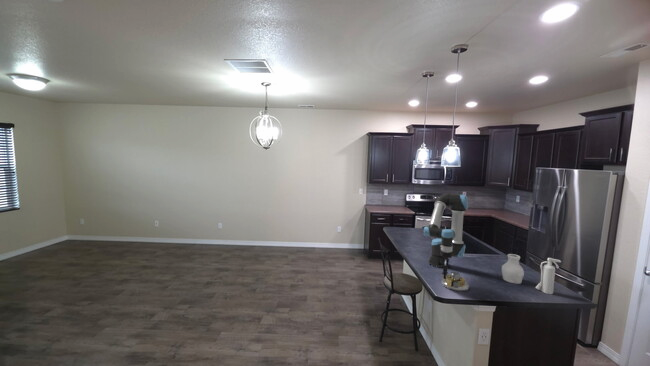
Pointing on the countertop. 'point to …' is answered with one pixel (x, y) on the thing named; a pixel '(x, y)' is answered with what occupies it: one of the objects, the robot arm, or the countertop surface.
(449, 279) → the gold crown ring
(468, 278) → the countertop surface
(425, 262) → the countertop surface
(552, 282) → the fire extinguisher
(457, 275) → the flange
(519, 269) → the vase
